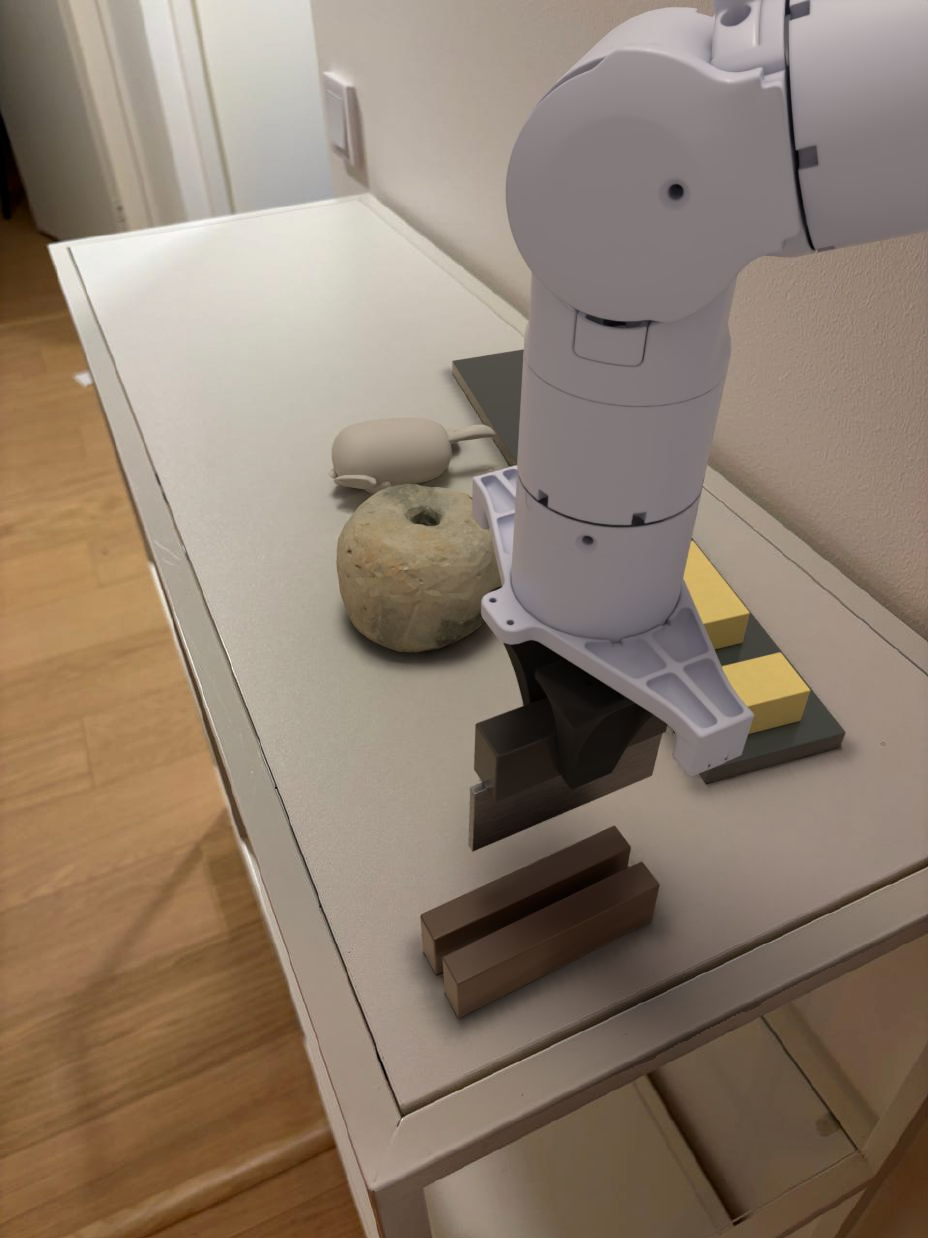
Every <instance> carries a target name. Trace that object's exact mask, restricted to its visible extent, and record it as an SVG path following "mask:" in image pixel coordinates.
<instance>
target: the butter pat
mask: <svg viewBox="0 0 928 1238" xmlns="http://www.w3.org/2000/svg"><path fill="white" fill-rule="evenodd" d="M722 669H723V671H724V673H725V675H726V677H727V678H728V680H729V682H730V684H731V686H732V687H733V689H734V690H735V692H736V693H737V695H738V696H739V697H740V698H741V700H742V701H743V702H744V703H745V704H746V705H747V707H748V708H749V709H750V710H751V711H752V712H753V713H754V717H753V720H752V724H751V727H750V730H749V733H748V734H751V733H755V732H759V731H763V730H767V729H770V728H774V727H778V726H782V725H786V724H790V723H793V722H797V721H800V720H801V718H802V715H803V712H804V709H805V706H806V703H807V700H808V696H809V693H810V689H809V688H808V686H807V685H806V684H805V683H804V681H803V680H802V679H801V677H800V676H799V675H798V674H797V672H796V671H795V670H794V669H793V667H792V666H791V665H790V663H789V662H788V661H787V660H786V658H785V657H784V656H783V655H782V653H781V652H779V653H775V654H771V655H767V656H763V657H759V658H754V659H750V660H746V661H742V662H738V663H734V664H730V665H726V666H722Z"/></svg>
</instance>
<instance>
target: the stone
mask: <svg viewBox="0 0 928 1238" xmlns="http://www.w3.org/2000/svg"><path fill="white" fill-rule="evenodd" d="M335 562H336V573H337V574H336V575H337V578H338V587H339V592H340V596H341V599H342V603H343V606H344V609H345V612H346V615H347V616H348V618H349V620H350V622H351V623H352V625H353V626H354V627H355V628H356V630H357V631H358V632H359V633H360V634H361V635H363V636H364V637H366V638H367V639H369V640H370V641H372V642H373V643H376V644H378V645H380V646H382V647H385V648H387V649H390V650H393V651H395V652H399V653H402V652H403V653H413V652H414V653H415V654H416V653H421V652H425V651H434V650H438V649H441V648H444V647H446V646H449V645H451V644H454V643H456V642H458V641H460V640H462V639H464V638H465V637H467V636H469V635H470V634H472V633H473V632H475V631H476V630H477V629H479V628H480V627H481V626H482V625H483V623H484V622H485V621H484V619H483V618H482V615H481V600H482V598H483V596H484V595H486V594H487V593H488V592H490V591H491V590H493V589H495V588H497V587H500V586H502V583H501V578H500V574H499V569H498V565H497V560H496V556H495V551H494V546H493V542H492V537H491V533H490V529H483V528H481V527H480V526H479V524H478V523H477V522H476V521H475V520H474V518H473V517H472V496H470V494H469V493H466V492H462V491H460V490H452V489H450V488H448V487H447V488H446V487H441V486H426V485H420V484H418V483H417V484H404V485H397V486H392V487H388V488H386V489H383V490H381V491H379V492H377V493H375V494H371V495H370V496H369V497H368V498H366V500H364V501H363V502H362V503H361V504H360V505H359V506H358V507H357V508H356V509H355V511H354V512H353V513H352V514H351V515H350V517H349V518H348V519H347V520H346V522H345V523H344V525H343V527H342V530H341V531H340V534H339V536H338V538H337V545H336V560H335Z"/></svg>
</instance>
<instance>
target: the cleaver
mask: <svg viewBox="0 0 928 1238" xmlns="http://www.w3.org/2000/svg"><path fill="white" fill-rule="evenodd" d="M474 726H475V727H474V751H473V752H474V754H473V755H474V757H473V770H474V772H475V774H476V775H477V777H478V778H479V780H480V781H481V782H480V783H477V784H475V785H472V786H470V787H469V811H468V812H469V813H468V815H469V816H468V847H469V849H470V851H471V852H472V853H474V852H475V851H479V850H481V849H484V848H485V847H488V846H490V845H492V844H495V843H498V842H499V841H501V840H504V839H507V838H509V837H511V836H514V835H516V834H519V833H521V832H523V831H526V830H528V829H530V828H533V827H536V825H540V824H542V823H545V822H547V821H549V820H551V819H553V818H556V817H558V816H561V815H564V814H565V813H568V812H570V811H573V810H575V809H578V808H579V807H582V806H584V805H587V804H590V803H591V802H594V801H597V800H599V799H601V798H603V797H605V796H608V795H611V794H612V793H615V792H617V791H619V790H622V789H624V788H627V787H629V786H631V785H634V784H635V783H636V784H637V783H639V782H641V781H643V780H645V779H648V778H650V777H653V774H654V770H655V766H656V763H657V762H656V761H657V758H658V754H659V750H660V745H661V741H662V737H663V734H664V733H666V732H667V730H668V727H669V725H668V724H666V723H665V722H664V721H662V720H661V719H659V718H658V717H657V716H655V715H653V716H652V717H651V718H650V719H649V720H648V721H647V722H646V723H645V724H644V725H643V726H642V728H641V729H640V730H639V731H638V732H637V734H636V735H635V736H634V738H633V739H632V741H631V742H630V744H629V745H628V747H627V748H626V750H625V751H624V753H623V755H622V756H621V758H620V760H619V761H618V763H617V765H616V766H615V768H614V770H613V772H612V773H611V774H608V775H606V776H604V777H601V778H599V779H596V780H594V781H592V782H589V783H587V784H584V785H582V786H580V787H577V788H575V789H572V788H569V787H568V785H567V784H566V782H565V781H564V780H563V778H562V776H561V773H560V770H559V765H558V758H557V728H556V722H555V717H554V713H553V710H552V707H551V704H550V702H549V699H548V697H545V698H543V699H540V700H537V701H535V702H532V703H529V704H527V705H524V706H523V705H521V706H518V707H516V708H514V709H510V710H507V711H506V712H503V713H500V714H497V715H494V716H493V717H489V718H487V719H485V720H482V721H478V722H476V723H475V725H474Z"/></svg>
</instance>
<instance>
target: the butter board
mask: <svg viewBox="0 0 928 1238" xmlns="http://www.w3.org/2000/svg"><path fill="white" fill-rule="evenodd" d="M523 352H524V348H522V349H516V350H511V351H505V352H499V353H498V352H497V353H491V354H485V355H479V356H473V357H467V358H461V359H454V360H452V362H451V363H452V367H451V368H452V375H453V376H454V378H455V379H456V381H457V383H458V385H459V386H460V387H461V389H462V391H463V392H464V394H465V396H466V397H467V399H468V400H469V402H470V403H471V405H472V407H473V408H474V410H475V412H476V413H477V415H478V417H479V418H480V420H481V421H482V423H483V425H486V426H488V427H490V428H491V429H493V430H494V432H495V434H496V435H495V436H494V437H491V438H492V439H493V441H494V442H495V444H496V446H497V448H498V449H499V451H500V452H501V454H502V455H503V457H504V459H505V460H506V462H507V464H508V465H509V467H512V466H515V465H517V458H518V441H519V423H520V405H521V388H522V370H523ZM691 541H694V542H695V544H696V545H697V546H698V547H699V549H700V550H701V551H702V553H703V554H704V555H705V556H706V558H707V559H708V560H709V561H710V563H711V564H712V565H713V566H714V568H715V569H716V570H717V572H718V573H719V574H720V575H721V577H722V578H723V579H724V580H725V582H726V583H727V584H728V585H729V587H730V588H731V589H732V591H733V592H734V593H735V594H736V596H737V597H738V598H739V599H740V601H741V602H742V603H743V604H744V606H745V607H746V608H747V610H748V611H749V612H750V615H749V619H748V623H747V627H746V631H745V635H744V639H743V642H742V643H740V644H736V645H732V646H727V647H723V648H719V649H715V652H716V655H717V657H718V659H719V662H720V664H721V666H726V665H730V664H734V663H738V662H742V661H746V660H750V659H754V658H759V657H763V656H767V655H771V654H775V653H779V652H781V653H782V655H783V656H784V657H785V658H786V660H787V661H788V662H789V663H790V665H791V666H792V667H793V669H794V670H795V671H796V672H797V674H798V675H799V676H800V677H801V679H802V680H803V681H804V683H805V684H806V685H807V686H808V688H809V689H810V693H809V696H808V700H807V703H806V706H805V709H804V712H803V715H802V718H801V720H800V721H797V722H793V723H790V724H786V725H782V726H778V727H774V728H770V729H767V730H763V731H759V732H755V733H751V734H748V736H747V739H746V742H745V745H744V748H743V752H742V755H741V756H738V757H736V758H734V759H732V760H729V761H727V762H726V763H724V764H721V765H719V766H717V767H714V768H712V769H710V770H706V771H704V772H702V773H699V775H700V776H701V778H702V779H703V781H704V783H706V784H708V783H711V782H712V783H713V782H714V781H718V780H723V779H726V778H730V777H734V776H738V775H741V774H744V773H748V772H749V773H750V772H752V771H756V770H760V769H763V768H766V767H770V766H774V765H779V764H781V763H785V762H789V761H793V760H796V759H801V758H804V757H808V756H812V755H816V754H818V753H822V752H826V751H830V750H834V749H839V748H840V747H841V746H842V744H843V741H844V739H845V736H846V735H847V734H846V731H845V729H844V728H843V727H842V726H841V724H840V723H839V721H837V719H836V718H835V717H834V715H833V714H832V713H831V712H830V710H829V709H828V708H827V706H826V705H825V704H824V703H823V701H822V700H821V699H820V697H819V696H818V695H817V693H816V692H815V691H814V690H813V688H811V686H810V685H809V683H808V682H807V681H806V680H805V679H804V677H803V676H802V675H801V673H800V672H799V671H798V669H797V668H796V667H795V666H794V664H793V663H792V662H791V661H790V659H789V658H788V657H787V656H786V655H785V654H784V652H783V651H782V650H781V648H780V647H779V645H777V643H776V642H775V641H774V640H773V638H772V637H771V636H770V635H769V633H768V632H767V630H766V629H765V628H764V626H763V625H762V624H761V623H760V622H759V620H758V619H757V618H756V616H754V615H753V613H752V611H751V610H750V609H749V608H748V606H747V605H746V604H745V603H744V601H742V599H741V598H740V596H739V595H738V594H737V593H736V592H735V590H734V589H733V588H732V586H731V585H730V584H729V583H728V581H727V580H726V579H725V578H724V576H723V574H721V572H720V571H719V570H718V569H717V567H716V566H715V564H713V562H712V561H711V559H709V557H708V556H707V555H706V554H705V552H704V550H702V548H701V547H700V546H699V544H698V543H697V542H696V540H694V538H693V537H692V539H691Z"/></svg>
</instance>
